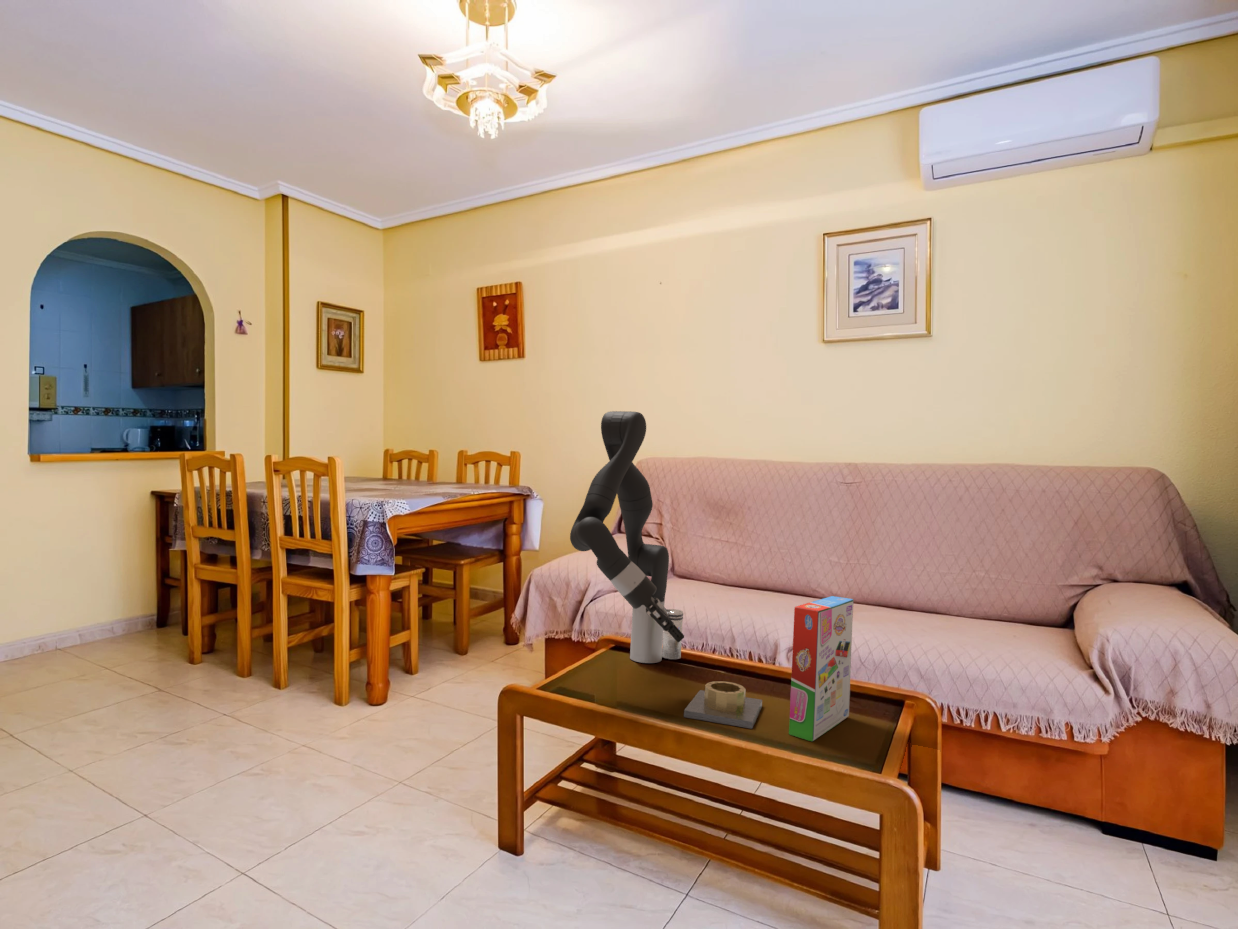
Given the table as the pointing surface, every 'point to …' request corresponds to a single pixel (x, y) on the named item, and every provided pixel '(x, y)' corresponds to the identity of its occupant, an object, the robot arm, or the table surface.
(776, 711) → the table surface
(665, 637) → the piston
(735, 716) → the tan pot on tray
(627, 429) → the robot arm
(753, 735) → the table surface
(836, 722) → the game box
